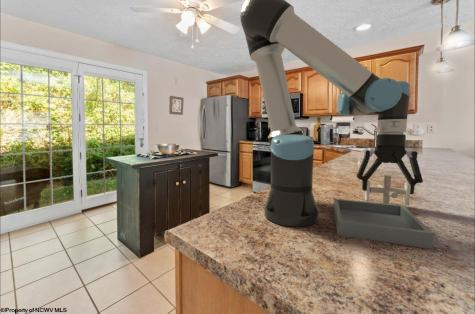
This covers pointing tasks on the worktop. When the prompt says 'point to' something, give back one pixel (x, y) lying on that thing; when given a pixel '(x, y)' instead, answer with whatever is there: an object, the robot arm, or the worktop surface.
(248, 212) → the worktop surface
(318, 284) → the worktop surface
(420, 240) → the tray
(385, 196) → the pipe connector
